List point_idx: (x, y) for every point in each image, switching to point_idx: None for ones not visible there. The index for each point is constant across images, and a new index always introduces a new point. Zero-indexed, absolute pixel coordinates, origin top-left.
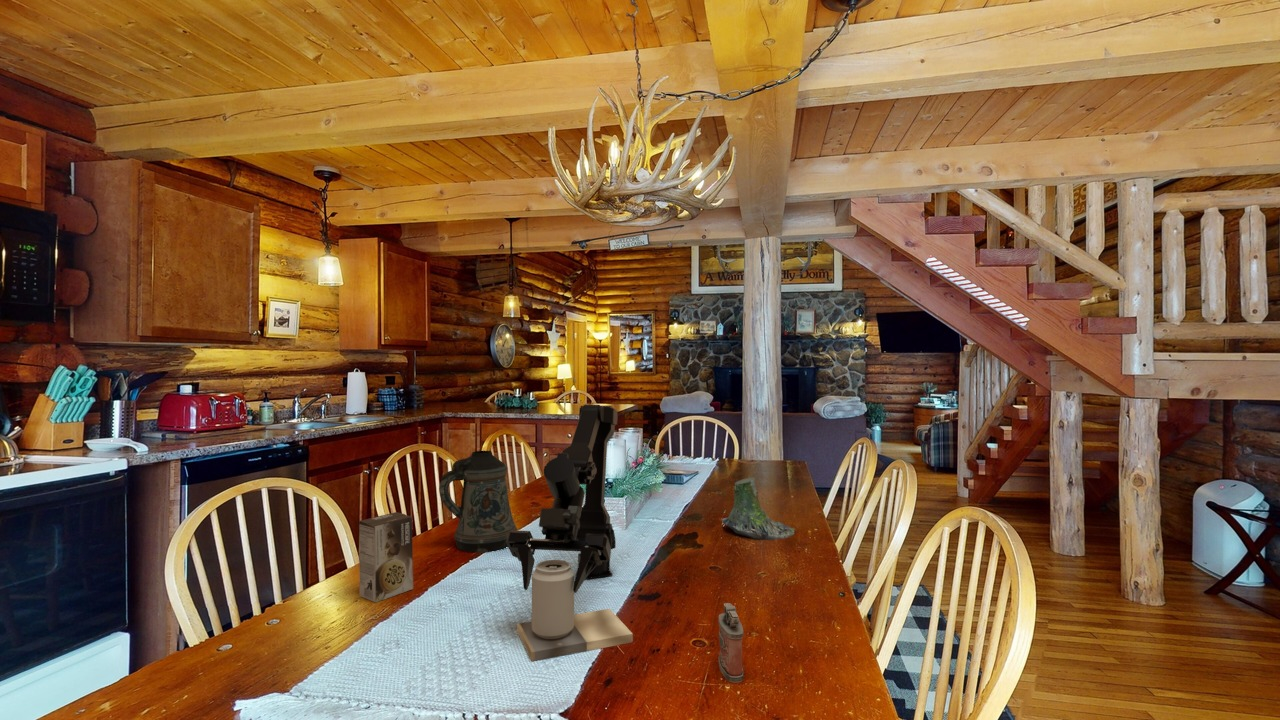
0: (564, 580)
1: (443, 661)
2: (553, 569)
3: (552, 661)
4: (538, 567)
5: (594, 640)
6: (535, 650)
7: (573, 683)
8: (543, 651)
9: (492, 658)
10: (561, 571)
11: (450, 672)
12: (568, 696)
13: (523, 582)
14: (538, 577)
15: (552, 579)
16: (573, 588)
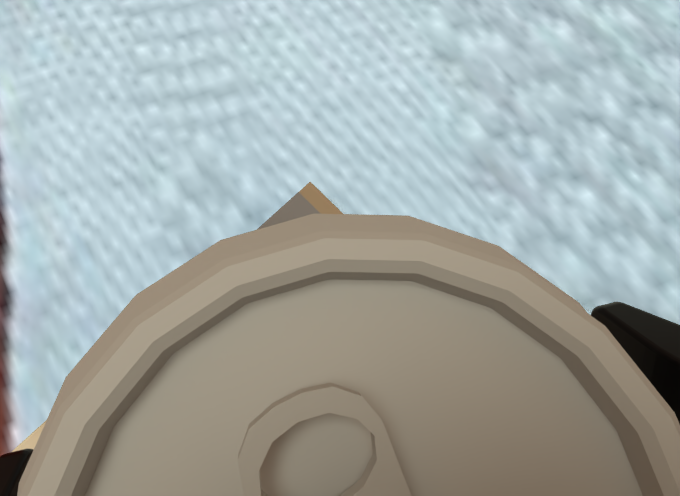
0: (74, 372)
1: (674, 66)
2: (322, 491)
3: (214, 234)
4: (633, 473)
5: (26, 444)
6: (302, 204)
7: (30, 96)
8: (264, 224)
9: (500, 160)
10: (88, 385)
11: (577, 5)
12: (12, 5)
13: (662, 319)
14: (445, 239)
15: (217, 256)
16: (20, 454)
